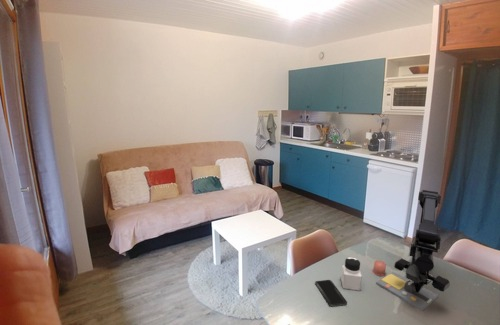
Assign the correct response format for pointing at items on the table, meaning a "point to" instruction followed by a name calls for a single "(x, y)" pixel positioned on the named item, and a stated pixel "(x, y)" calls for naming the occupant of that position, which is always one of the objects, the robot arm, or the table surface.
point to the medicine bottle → (351, 274)
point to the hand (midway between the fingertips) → (417, 291)
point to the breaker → (409, 286)
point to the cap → (379, 268)
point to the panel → (396, 287)
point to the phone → (330, 293)
